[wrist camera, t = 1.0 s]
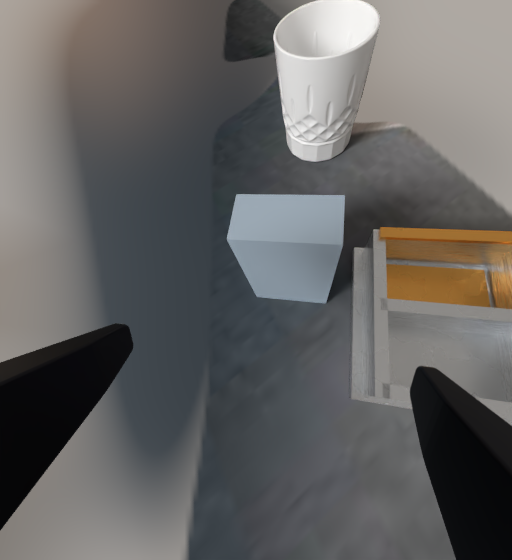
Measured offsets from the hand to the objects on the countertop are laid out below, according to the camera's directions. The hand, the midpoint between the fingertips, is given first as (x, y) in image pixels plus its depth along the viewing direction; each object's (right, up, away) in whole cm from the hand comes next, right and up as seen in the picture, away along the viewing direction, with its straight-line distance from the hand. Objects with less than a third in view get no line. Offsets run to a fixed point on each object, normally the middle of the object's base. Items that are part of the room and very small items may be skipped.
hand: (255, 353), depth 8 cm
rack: (+13, -1, +12) cm, 18 cm away
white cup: (+7, +18, +21) cm, 28 cm away
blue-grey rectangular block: (+3, +2, +15) cm, 15 cm away
